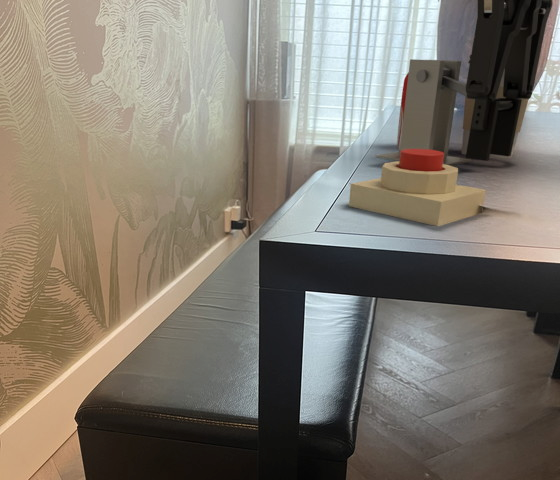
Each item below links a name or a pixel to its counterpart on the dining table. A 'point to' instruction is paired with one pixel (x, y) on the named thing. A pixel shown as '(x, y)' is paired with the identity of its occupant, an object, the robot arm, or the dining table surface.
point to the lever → (460, 87)
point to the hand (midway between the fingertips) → (488, 156)
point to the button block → (418, 195)
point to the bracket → (428, 109)
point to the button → (421, 160)
